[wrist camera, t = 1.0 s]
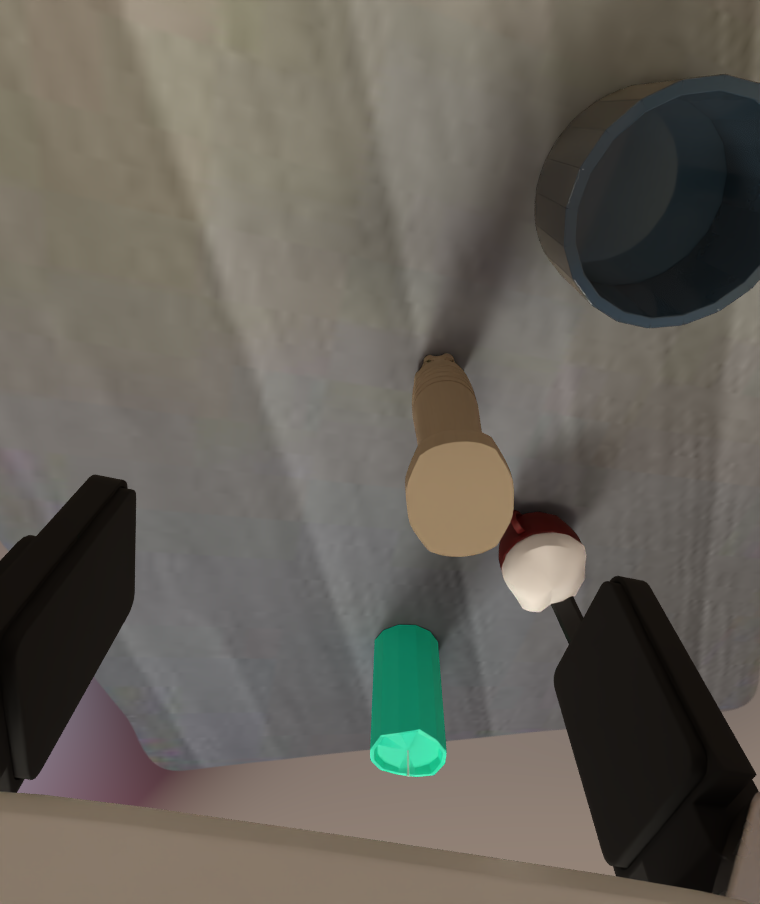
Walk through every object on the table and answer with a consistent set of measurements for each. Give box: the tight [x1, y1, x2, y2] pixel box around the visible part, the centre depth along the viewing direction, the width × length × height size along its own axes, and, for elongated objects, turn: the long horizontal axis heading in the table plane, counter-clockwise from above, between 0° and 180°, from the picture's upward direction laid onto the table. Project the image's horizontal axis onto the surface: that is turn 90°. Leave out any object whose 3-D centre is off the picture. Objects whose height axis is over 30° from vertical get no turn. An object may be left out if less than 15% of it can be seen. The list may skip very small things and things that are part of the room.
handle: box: [405, 353, 514, 557], centre depth 32 cm, size 5×6×15 cm
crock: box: [535, 74, 760, 328], centre depth 30 cm, size 11×11×7 cm
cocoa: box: [499, 510, 587, 644], centre depth 41 cm, size 10×6×12 cm, turn 12°
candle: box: [370, 625, 447, 777], centre depth 48 cm, size 6×6×12 cm
